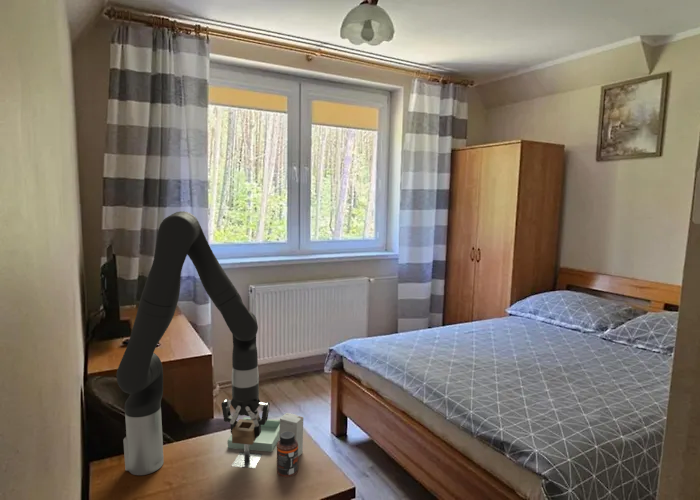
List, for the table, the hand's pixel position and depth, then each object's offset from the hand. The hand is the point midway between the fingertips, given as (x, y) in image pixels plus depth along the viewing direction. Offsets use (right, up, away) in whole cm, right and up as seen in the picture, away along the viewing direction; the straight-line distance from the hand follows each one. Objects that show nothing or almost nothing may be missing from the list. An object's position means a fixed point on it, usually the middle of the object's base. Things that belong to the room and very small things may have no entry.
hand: (245, 435), depth 131 cm
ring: (0, -1, 0) cm, 1 cm away
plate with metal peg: (0, -8, +1) cm, 8 cm away
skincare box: (+13, -8, +4) cm, 16 cm away
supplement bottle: (+13, -9, -4) cm, 16 cm away
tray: (+1, -6, +13) cm, 14 cm away
